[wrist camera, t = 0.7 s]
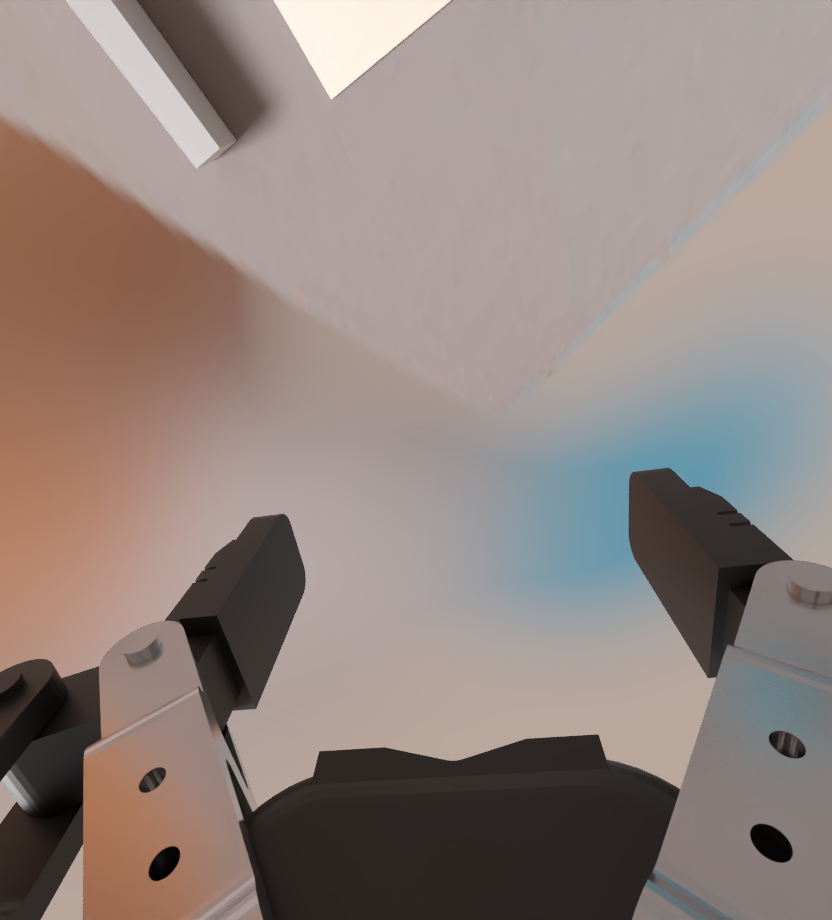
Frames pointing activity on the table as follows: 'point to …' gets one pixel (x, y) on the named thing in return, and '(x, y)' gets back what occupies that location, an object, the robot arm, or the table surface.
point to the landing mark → (352, 33)
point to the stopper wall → (156, 76)
